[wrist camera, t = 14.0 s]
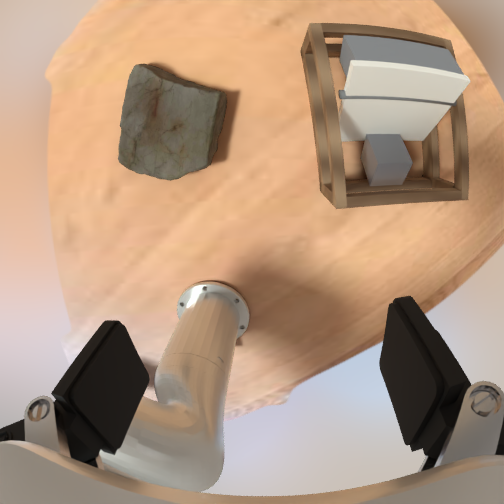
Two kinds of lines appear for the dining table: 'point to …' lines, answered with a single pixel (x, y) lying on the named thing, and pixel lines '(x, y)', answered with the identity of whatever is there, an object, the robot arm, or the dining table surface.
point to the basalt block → (385, 159)
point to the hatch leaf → (395, 87)
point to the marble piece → (168, 124)
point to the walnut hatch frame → (330, 135)
